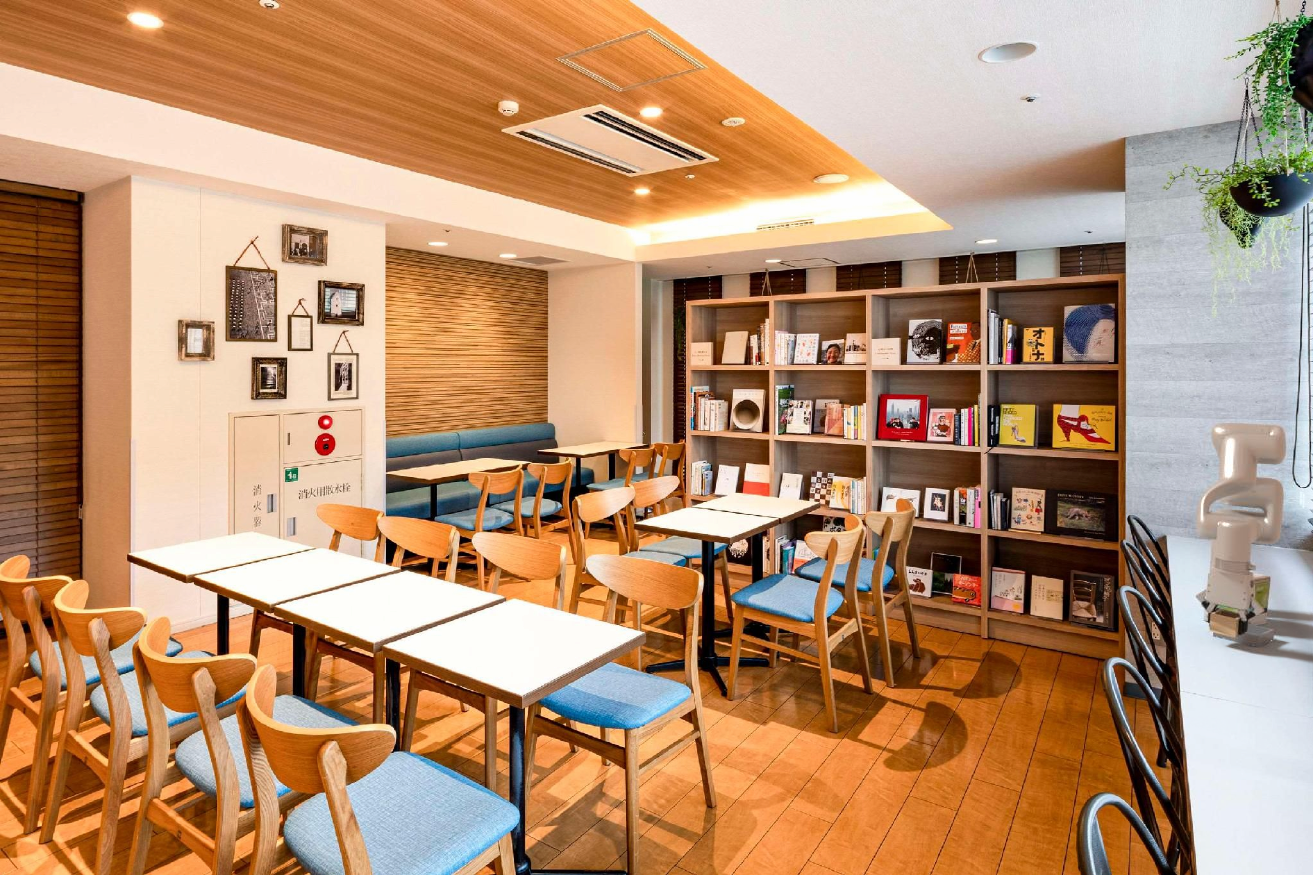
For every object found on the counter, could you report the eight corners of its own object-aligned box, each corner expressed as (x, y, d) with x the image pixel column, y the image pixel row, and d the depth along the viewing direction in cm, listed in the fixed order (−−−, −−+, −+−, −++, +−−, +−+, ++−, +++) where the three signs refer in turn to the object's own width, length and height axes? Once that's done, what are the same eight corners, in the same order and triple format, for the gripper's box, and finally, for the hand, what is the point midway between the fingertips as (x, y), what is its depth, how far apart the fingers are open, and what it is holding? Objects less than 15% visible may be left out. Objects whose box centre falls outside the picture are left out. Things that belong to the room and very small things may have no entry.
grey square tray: (1228, 629, 221) (1229, 619, 220) (1273, 640, 212) (1274, 629, 211) (1212, 635, 215) (1213, 625, 214) (1258, 647, 206) (1259, 636, 206)
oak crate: (1218, 626, 211) (1219, 609, 211) (1244, 633, 206) (1245, 615, 206) (1209, 631, 208) (1210, 613, 207) (1235, 637, 203) (1236, 619, 202)
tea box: (1240, 631, 219) (1244, 581, 218) (1202, 621, 228) (1206, 572, 227) (1267, 624, 226) (1271, 575, 225) (1229, 614, 235) (1233, 567, 234)
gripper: (1276, 570, 200) (1270, 636, 202) (1201, 556, 214) (1196, 618, 216) (1265, 575, 196) (1259, 642, 198) (1189, 560, 210) (1184, 623, 212)
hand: (1226, 629), depth 207 cm, fingers closed on oak crate, 6 cm apart
